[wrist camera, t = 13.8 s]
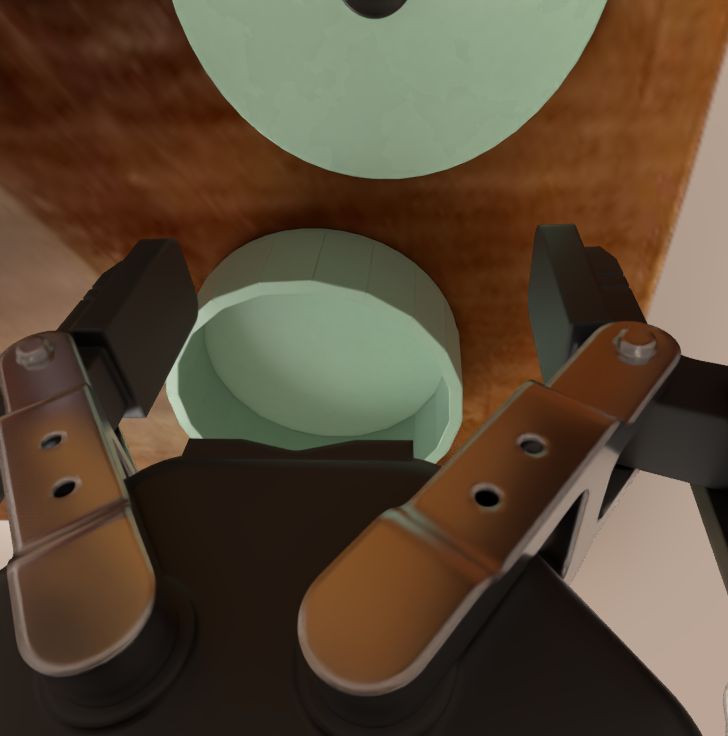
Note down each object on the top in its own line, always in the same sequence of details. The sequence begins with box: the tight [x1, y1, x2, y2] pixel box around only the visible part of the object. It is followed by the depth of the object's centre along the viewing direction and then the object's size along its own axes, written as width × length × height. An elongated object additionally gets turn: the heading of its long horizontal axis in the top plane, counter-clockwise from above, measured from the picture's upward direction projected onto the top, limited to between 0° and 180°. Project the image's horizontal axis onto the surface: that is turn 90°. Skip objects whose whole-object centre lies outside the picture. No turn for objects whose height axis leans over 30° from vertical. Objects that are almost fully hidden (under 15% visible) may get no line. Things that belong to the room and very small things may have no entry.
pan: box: [166, 228, 463, 464], centre depth 32 cm, size 15×15×5 cm
